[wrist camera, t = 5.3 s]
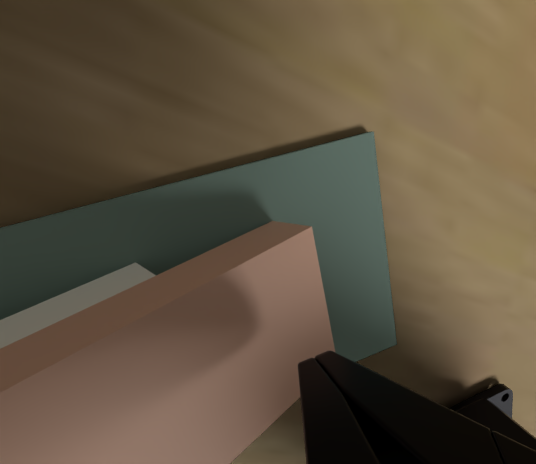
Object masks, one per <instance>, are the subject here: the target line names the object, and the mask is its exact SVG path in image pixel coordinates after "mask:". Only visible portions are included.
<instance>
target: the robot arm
mask: <svg viewBox="0 0 536 464" xmlns="http://www.w3.org/2000/svg"><path fill="white" fill-rule="evenodd" d="M298 376H299V387H300V398H301V409H302V420H303V431H304V442H305V453H306V464H536V438H535V437H534V436H533V435H531V434H530V433H529V432H528V431H526V430H525V429H524V428H523V427H522V426H520V425H519V424H518V423H517V422H515V421H514V420H513V419H512V401H513V392H512V390H511V389H509V388H508V387H506V386H505V385H504V384H499V385H496V386H494V387H492V388H490V389H488V390H486V391H484V392H482V393H480V394H478V395H476V396H474V397H472V398H470V399H468V400H466V401H464V402H462V403H460V404H457V405H455V406H453V407H451V408H447V407H445V406H443V405H441V404H439V403H437V402H435V401H433V400H431V399H429V398H427V397H425V396H423V395H421V394H419V393H416V392H414V391H412V390H410V389H408V388H406V387H404V386H402V385H400V384H398V383H396V382H394V381H392V380H390V379H388V378H386V377H384V376H382V375H380V374H378V373H376V372H374V371H372V370H370V369H368V368H366V367H364V366H362V365H360V364H358V363H356V362H354V361H352V360H350V359H348V358H346V357H344V356H341V355H339V354H337V353H335V352H333V351H330V350H329V351H326V352H323V353H321V354H318V355H316V356H315V358H312V357H311V358H309V359H306V360H304V361H301V362H299V363H298Z"/></svg>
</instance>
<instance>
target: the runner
mask: <svg viewBox="0 0 536 464" xmlns="http://www.w3.org/2000/svg"><path fill="white" fill-rule="evenodd" d="M271 221H277V222H284V223H291V224H298V225H305V226H312V230H313V235H314V240H315V246H316V251H317V257H318V262H319V267H320V273H321V278H322V283H323V289H324V294H325V299H326V305H327V310H328V316H329V321H330V326H331V332H332V337H333V342H334V348H335V353H337V354H339V355H341V356H344V357H346V358H348V359H350V360H352V361H354V362H357V361H359V360H361V359H364V358H366V357H368V356H371V355H373V354H375V353H378V352H380V351H383V350H385V349H387V348H390V347H392V346H394V345H397V341H396V332H395V323H394V314H393V304H392V295H391V286H390V277H389V268H388V259H387V249H386V240H385V231H384V222H383V213H382V204H381V194H380V185H379V176H378V167H377V158H376V149H375V139H374V132H366V133H362V134H358V135H355V136H351V137H347V138H343V139H339V140H335V141H332V142H328V143H324V144H320V145H316V146H312V147H309V148H305V149H301V150H297V151H293V152H289V153H285V154H282V155H278V156H274V157H270V158H266V159H262V160H259V161H255V162H251V163H247V164H243V165H239V166H236V167H232V168H228V169H224V170H220V171H216V172H213V173H209V174H205V175H201V176H197V177H193V178H190V179H186V180H182V181H178V182H174V183H170V184H166V185H163V186H159V187H155V188H151V189H147V190H143V191H140V192H136V193H132V194H128V195H124V196H120V197H117V198H113V199H109V200H105V201H101V202H97V203H94V204H90V205H86V206H82V207H78V208H74V209H71V210H67V211H63V212H59V213H55V214H51V215H47V216H44V217H40V218H36V219H32V220H28V221H24V222H21V223H17V224H13V225H9V226H5V227H1V228H0V320H2V319H4V318H6V317H9V316H11V315H13V314H16V313H18V312H20V311H23V310H25V309H28V308H30V307H32V306H35V305H37V304H39V303H42V302H44V301H46V300H49V299H51V298H53V297H56V296H58V295H60V294H63V293H65V292H67V291H70V290H72V289H74V288H77V287H79V286H81V285H84V284H86V283H88V282H91V281H93V280H95V279H98V278H100V277H102V276H105V275H107V274H109V273H112V272H114V271H117V270H119V269H121V268H124V267H126V266H128V265H131V264H133V263H135V262H136V263H137V264H139V265H140V266H142V267H144V268H145V269H147V270H148V271H150V272H151V273H153V274H154V275H158V274H161V273H163V272H165V271H167V270H169V269H171V268H173V267H175V266H178V265H180V264H182V263H184V262H186V261H188V260H190V259H192V258H195V257H197V256H199V255H201V254H203V253H205V252H207V251H209V250H212V249H214V248H216V247H218V246H220V245H222V244H224V243H226V242H229V241H231V240H233V239H235V238H237V237H239V236H241V235H243V234H246V233H248V232H250V231H252V230H254V229H256V228H258V227H260V226H263V225H265V224H267V223H269V222H271Z"/></svg>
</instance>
